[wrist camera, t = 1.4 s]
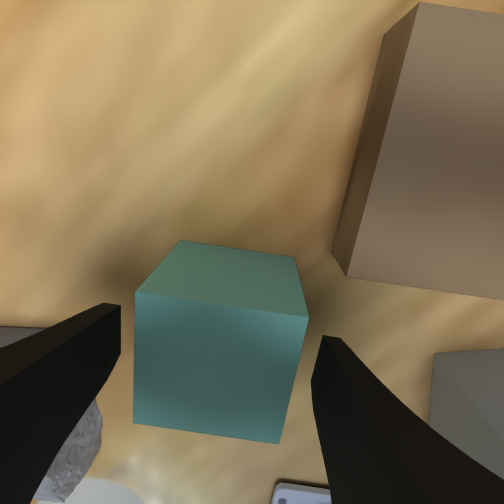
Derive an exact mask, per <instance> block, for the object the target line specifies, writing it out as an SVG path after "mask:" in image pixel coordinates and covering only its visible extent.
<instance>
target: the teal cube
mask: <svg viewBox="0 0 504 504" xmlns="http://www.w3.org/2000/svg"><path fill="white" fill-rule="evenodd" d="M308 320H309V315H308V311H307V307H306V303H305V299H304V295H303V290H302V286H301V282H300V278H299V274H298V270H297V265H296V261H295V257H289V256H282V255H276V254H269V253H263V252H256V251H249V250H243V249H236V248H229V247H223V246H216V245H210V244H203V243H196V242H190V241H183V240H180V241H179V242H178V243H177V245H176V246H175V247H174V248H173V249H172V250H171V251H170V253H169V254H168V255H167V256H166V257H165V258H164V259H163V261H162V262H161V263H160V264H159V265H158V266H157V267H156V269H155V270H154V271H153V272H152V273H151V274H150V275H149V277H148V278H147V279H146V280H145V281H144V282H143V283H142V285H141V286H140V287H139V288H138V289H137V290H136V291H135V330H134V385H133V423H136V424H143V425H150V426H157V427H163V428H170V429H177V430H184V431H191V432H197V433H204V434H211V435H218V436H225V437H231V438H238V439H245V440H252V441H259V442H265V443H272V444H279V442H280V438H281V434H282V430H283V425H284V421H285V417H286V413H287V409H288V404H289V400H290V396H291V392H292V388H293V383H294V379H295V375H296V371H297V366H298V362H299V358H300V354H301V350H302V345H303V341H304V337H305V333H306V329H307V324H308Z"/></svg>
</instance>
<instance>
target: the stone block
mask: <svg viewBox="0 0 504 504" xmlns="http://www.w3.org/2000/svg"><path fill="white" fill-rule="evenodd" d="M45 329H46V328H26V327H0V348H1V347H4V346H7V345H9V344H12V343H14V342H16V341H19V340H21V339H24V338H26V337H28V336H31V335H33V334H35V333H38V332H40V331H42V330H45ZM101 429H102V415H101V414H100V411H99V409H98V406H97V403H96V398H95V399H94V400H93V402H92V403H91V405H90V406H89V407H88V409H87V410H86V412H85V413H84V415H83V416H82V418H81V419H80V421H79V422H78V423H77V425H76V426H75V428H74V429H73V431H72V432H71V434H70V435H69V437H68V438H67V440H66V441H65V443H64V444H63V446H62V447H61V449H60V451H59V452H58V454H57V455H56V457H55V459H54V461H53V463H52V464H51V466H50V468H49V470H48V471H47V473H46V475H45V477H44V479H43V480H42V482H41V484H40V486H39V488H38V489H37V491H36V493H35V495H34V497H33V499H38V500H43V501H52V502H65V500H66V498H68V497H69V496H70V494H71V493H72V492H73V491H74V489H75V487H76V486H77V485H78V484H79V483H80V481H81V480H82V479H83V477H84V476H85V474H86V472H87V471H88V469H89V468H90V467H91V465H92V463H93V461H94V459H95V456H96V454H97V451H98V449H99V448H100V444H101Z"/></svg>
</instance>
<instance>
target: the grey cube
mask: <svg viewBox="0 0 504 504" xmlns="http://www.w3.org/2000/svg"><path fill="white" fill-rule="evenodd" d="M428 425H429V426H430V427H431V428H432V429H434V430H435V431H436V432H438V433H439V434H440V435H441V436H443V437H444V438H445V439H446V440H448V441H449V442H451V443H452V444H453V445H455V446H456V447H457V448H459V449H460V450H461V451H463V452H464V453H466V454H467V455H468V456H470V457H471V458H472V459H474V460H475V461H477V462H478V463H480V464H481V465H483V466H484V467H486V468H487V469H488V470H490V471H491V472H493V473H494V474H496V475H498V476H499V477H501V478H502V479H504V349H491V350H476V351H461V352H446V353H434V363H433V374H432V385H431V396H430V408H429V419H428Z"/></svg>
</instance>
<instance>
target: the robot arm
mask: <svg viewBox="0 0 504 504" xmlns="http://www.w3.org/2000/svg"><path fill="white" fill-rule="evenodd" d="M120 354H121V305H115V304H109V303H102V304H99V305H97V306H94V307H92V308H90V309H88V310H85V311H83V312H81V313H79V314H77V315H75V316H73V317H71V318H68V319H66V320H64V321H62V322H60V323H58V324H56V325H53V326H51V327H49V328H47V329H45V330H42V331H40V332H38V333H35V334H33V335H31V336H28V337H26V338H24V339H21V340H19V341H16V342H14V343H12V344H9V345H7V346H4V347H1V348H0V504H30V502H31V501H32V499H33V497H34V495H35V493H36V491H37V489H38V488H39V486H40V484H41V482H42V480H43V479H44V477H45V475H46V473H47V471H48V470H49V468H50V466H51V464H52V463H53V461H54V459H55V457H56V455H57V454H58V452H59V451H60V449H61V447H62V446H63V444H64V443H65V441H66V440H67V438H68V437H69V435H70V434H71V432H72V431H73V429H74V428H75V426H76V425H77V423H78V422H79V421H80V419H81V418H82V416H83V415H84V413H85V412H86V410H87V409H88V407H89V406H90V405H91V403H92V402H93V400H94V399H95V397H96V396H97V394H98V393H99V391H100V390H101V388H102V387H103V385H104V384H105V382H106V381H107V379H108V377H109V376H110V374H111V372H112V370H113V368H114V366H115V364H116V362H117V360H118V358H119V356H120ZM311 391H312V403H313V411H314V416H315V421H316V426H317V431H318V435H319V440H320V445H321V450H322V454H323V459H324V464H325V468H326V473H327V478H328V484H329V489H323V488H316V487H310V486H303V485H296V484H289V483H279V484H278V485H276V487H275V489H274V493H273V497H272V502H271V504H504V479H502V478H501V477H499V476H498V475H496V474H494V473H493V472H491V471H490V470H488V469H487V468H486V467H484V466H483V465H481V464H480V463H478V462H477V461H475V460H474V459H472V458H471V457H470V456H468V455H467V454H466V453H464V452H463V451H461V450H460V449H459V448H457V447H456V446H455V445H453V444H452V443H451V442H449V441H448V440H446V439H445V438H444V437H443V436H441V435H440V434H439V433H438V432H436V431H435V430H434V429H432V428H431V427H430V426H429V425H428V424H426V423H425V422H424V421H423V420H422V419H421V418H419V417H418V416H417V415H416V414H415V413H413V412H412V411H411V410H410V409H409V408H408V407H407V406H405V405H404V404H403V403H402V402H401V401H400V400H399V399H398V398H397V397H396V396H395V395H394V394H393V393H392V392H391V391H390V390H389V389H388V388H387V387H386V386H385V385H384V384H383V383H382V382H381V381H380V380H379V379H378V378H377V377H376V376H375V375H374V374H373V373H372V372H371V371H370V370H369V369H368V368H367V367H366V366H365V364H364V363H363V362H362V361H361V360H360V359H359V358H358V357H357V356H356V355H355V353H354V352H353V351H352V350H351V349H350V348H349V347H348V346H347V345H346V344H345V342H344V341H343V340H342V339H341V338H338V337H331V336H325V335H323V336H322V340H321V344H320V348H319V352H318V355H317V359H316V363H315V367H314V371H313V374H312V378H311Z"/></svg>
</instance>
